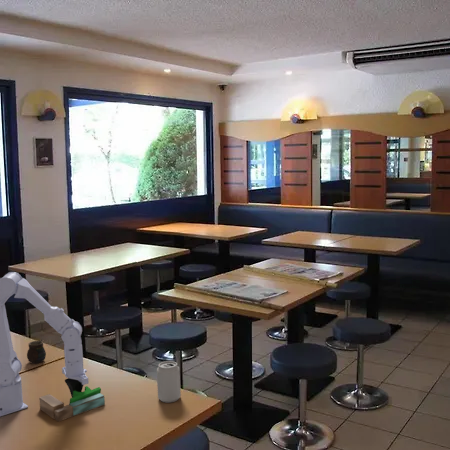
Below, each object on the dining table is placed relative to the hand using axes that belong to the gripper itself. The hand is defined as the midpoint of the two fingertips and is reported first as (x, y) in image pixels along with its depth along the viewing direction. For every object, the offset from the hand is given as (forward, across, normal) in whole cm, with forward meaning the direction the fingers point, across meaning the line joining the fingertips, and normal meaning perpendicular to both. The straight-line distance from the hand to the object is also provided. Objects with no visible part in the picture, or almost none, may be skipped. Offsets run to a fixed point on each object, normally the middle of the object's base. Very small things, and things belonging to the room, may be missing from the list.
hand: (76, 399), depth 180 cm
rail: (+1, -7, +2) cm, 8 cm away
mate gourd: (+1, +47, -7) cm, 47 cm away
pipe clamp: (+1, -3, -1) cm, 3 cm away
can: (+1, -20, -23) cm, 31 cm away
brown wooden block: (+1, -1, +9) cm, 9 cm away
